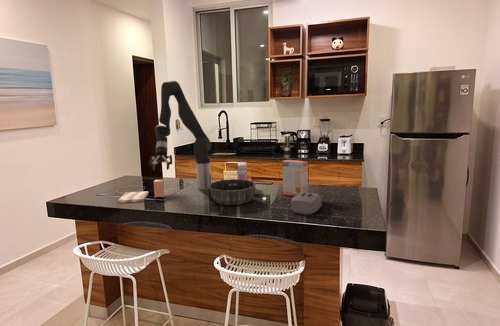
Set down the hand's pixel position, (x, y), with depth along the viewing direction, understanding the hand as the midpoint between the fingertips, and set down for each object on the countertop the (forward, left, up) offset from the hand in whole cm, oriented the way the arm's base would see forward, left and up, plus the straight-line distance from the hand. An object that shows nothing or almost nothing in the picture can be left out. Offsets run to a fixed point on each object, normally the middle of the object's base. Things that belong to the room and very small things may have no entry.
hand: (160, 169), depth 202 cm
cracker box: (-80, +29, -15) cm, 86 cm away
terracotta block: (0, +12, -15) cm, 19 cm away
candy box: (-52, +3, -15) cm, 54 cm away
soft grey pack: (-79, +53, -15) cm, 97 cm away
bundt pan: (-43, +32, -15) cm, 55 cm away
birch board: (+15, +12, -15) cm, 24 cm away
